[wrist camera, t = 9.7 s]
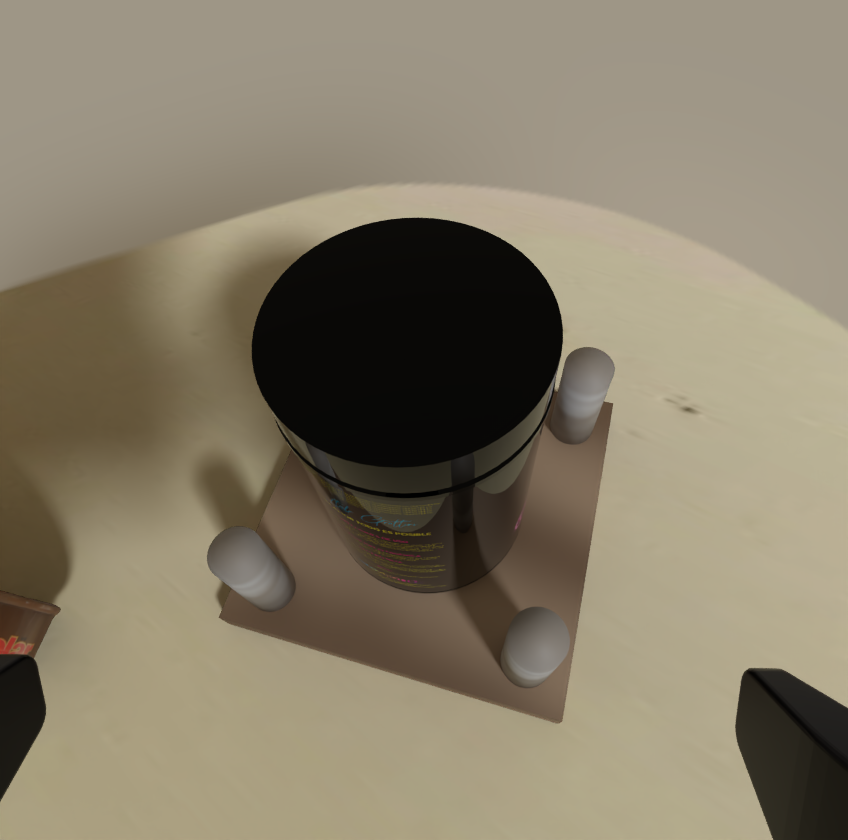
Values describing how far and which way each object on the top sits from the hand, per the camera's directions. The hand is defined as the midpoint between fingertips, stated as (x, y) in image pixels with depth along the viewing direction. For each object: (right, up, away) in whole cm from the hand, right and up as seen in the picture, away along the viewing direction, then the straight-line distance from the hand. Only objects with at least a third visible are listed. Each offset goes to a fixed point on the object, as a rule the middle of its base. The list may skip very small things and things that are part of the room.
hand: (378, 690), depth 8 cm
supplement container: (+1, 0, +15) cm, 15 cm away
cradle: (+1, 0, +15) cm, 15 cm away
